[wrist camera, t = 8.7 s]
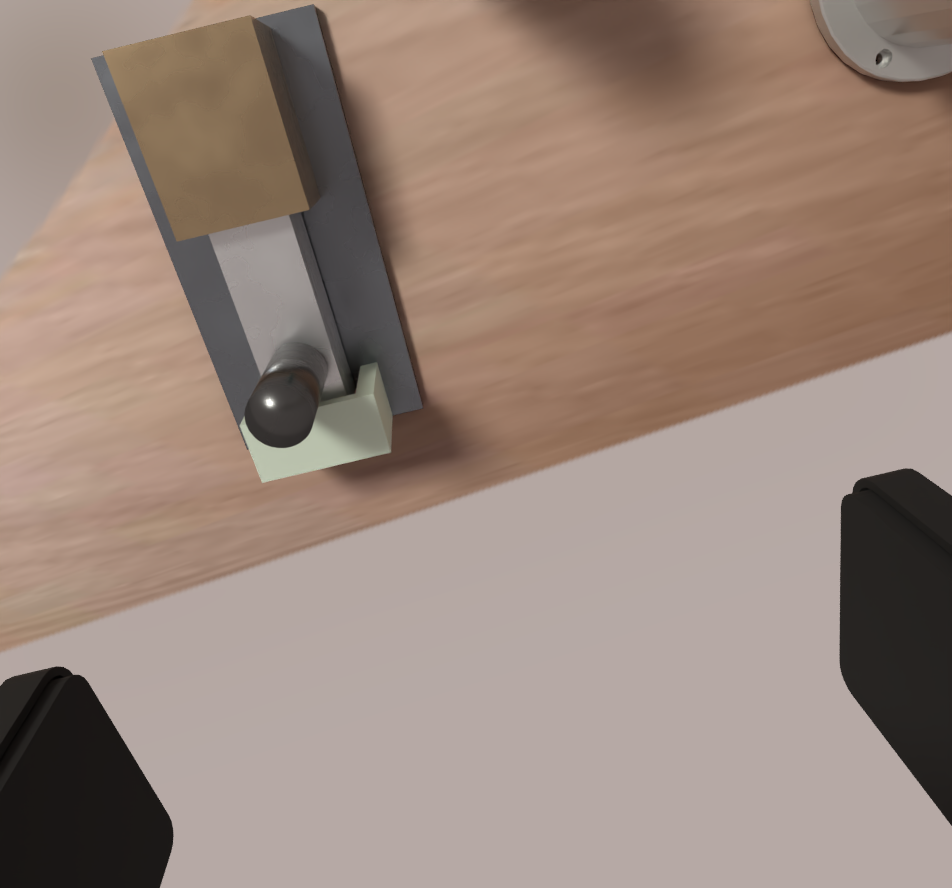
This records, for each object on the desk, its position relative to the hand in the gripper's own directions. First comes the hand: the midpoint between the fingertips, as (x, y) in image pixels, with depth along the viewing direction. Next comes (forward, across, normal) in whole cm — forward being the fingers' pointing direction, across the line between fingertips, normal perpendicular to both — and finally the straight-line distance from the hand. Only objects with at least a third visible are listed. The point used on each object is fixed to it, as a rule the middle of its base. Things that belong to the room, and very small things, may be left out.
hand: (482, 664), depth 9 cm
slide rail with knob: (+34, +8, -1) cm, 35 cm away
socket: (+34, +8, +8) cm, 36 cm away
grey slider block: (+34, +8, +2) cm, 35 cm away
